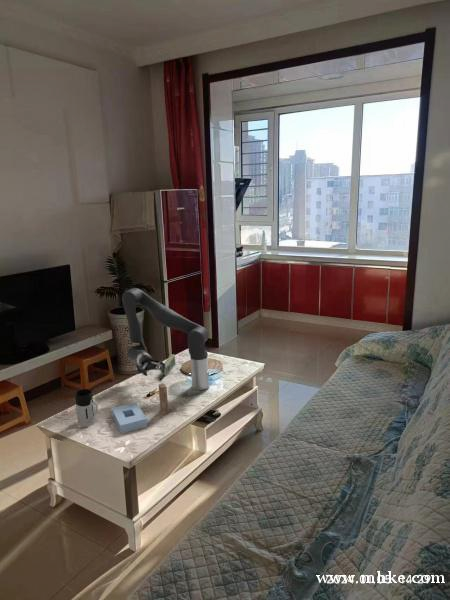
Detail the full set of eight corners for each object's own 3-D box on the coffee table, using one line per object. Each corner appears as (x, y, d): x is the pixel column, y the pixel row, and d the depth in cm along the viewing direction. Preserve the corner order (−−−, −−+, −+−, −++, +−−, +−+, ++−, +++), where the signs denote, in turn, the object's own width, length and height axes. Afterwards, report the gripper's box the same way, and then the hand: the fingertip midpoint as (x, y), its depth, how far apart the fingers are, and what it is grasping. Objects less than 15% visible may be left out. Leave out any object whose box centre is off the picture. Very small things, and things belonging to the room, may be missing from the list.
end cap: (137, 409, 212) (136, 402, 211) (147, 426, 197) (146, 418, 196) (112, 415, 207) (111, 408, 206) (121, 433, 192) (120, 425, 191)
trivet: (176, 376, 250) (176, 373, 250) (186, 360, 274) (186, 357, 274) (219, 377, 247) (219, 374, 246) (225, 361, 271) (225, 358, 270)
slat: (165, 409, 212) (163, 383, 208) (168, 413, 208) (166, 386, 204) (160, 410, 211) (158, 384, 207) (163, 414, 207) (161, 387, 203)
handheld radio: (176, 364, 268) (163, 381, 244) (171, 364, 269) (158, 381, 245) (175, 354, 267) (162, 370, 243) (170, 354, 267) (156, 370, 243)
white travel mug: (89, 415, 209) (86, 386, 205) (107, 424, 200) (104, 394, 196) (73, 422, 202) (69, 393, 198) (90, 432, 193) (87, 402, 190)
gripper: (131, 357, 225) (140, 368, 211) (158, 352, 231) (168, 362, 217) (132, 370, 227) (141, 382, 213) (158, 365, 233) (168, 376, 219)
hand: (154, 372), depth 215 cm, fingers open, 8 cm apart
